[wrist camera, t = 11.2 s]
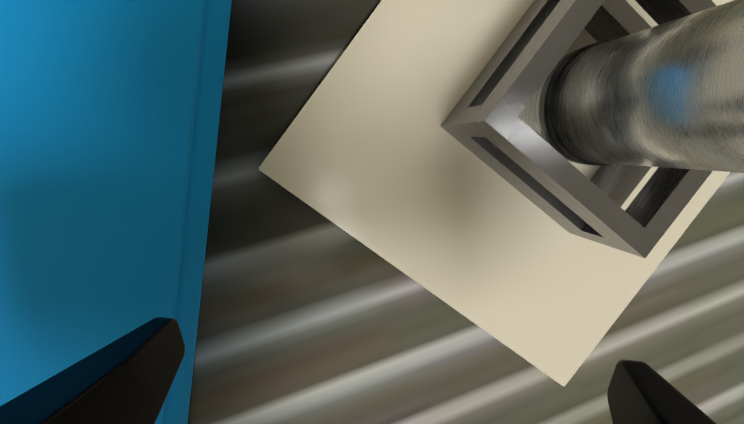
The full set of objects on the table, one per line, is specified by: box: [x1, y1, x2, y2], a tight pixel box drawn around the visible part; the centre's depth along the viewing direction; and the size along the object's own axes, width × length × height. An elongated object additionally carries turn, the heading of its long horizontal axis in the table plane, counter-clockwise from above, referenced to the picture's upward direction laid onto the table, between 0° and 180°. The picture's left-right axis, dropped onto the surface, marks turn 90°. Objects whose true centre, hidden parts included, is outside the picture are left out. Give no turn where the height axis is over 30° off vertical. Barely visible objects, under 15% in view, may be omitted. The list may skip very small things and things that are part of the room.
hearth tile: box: [258, 0, 734, 387], centre depth 20 cm, size 20×18×1 cm
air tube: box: [518, 0, 744, 173], centre depth 13 cm, size 5×5×13 cm
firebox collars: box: [441, 0, 716, 258], centre depth 17 cm, size 8×8×5 cm
